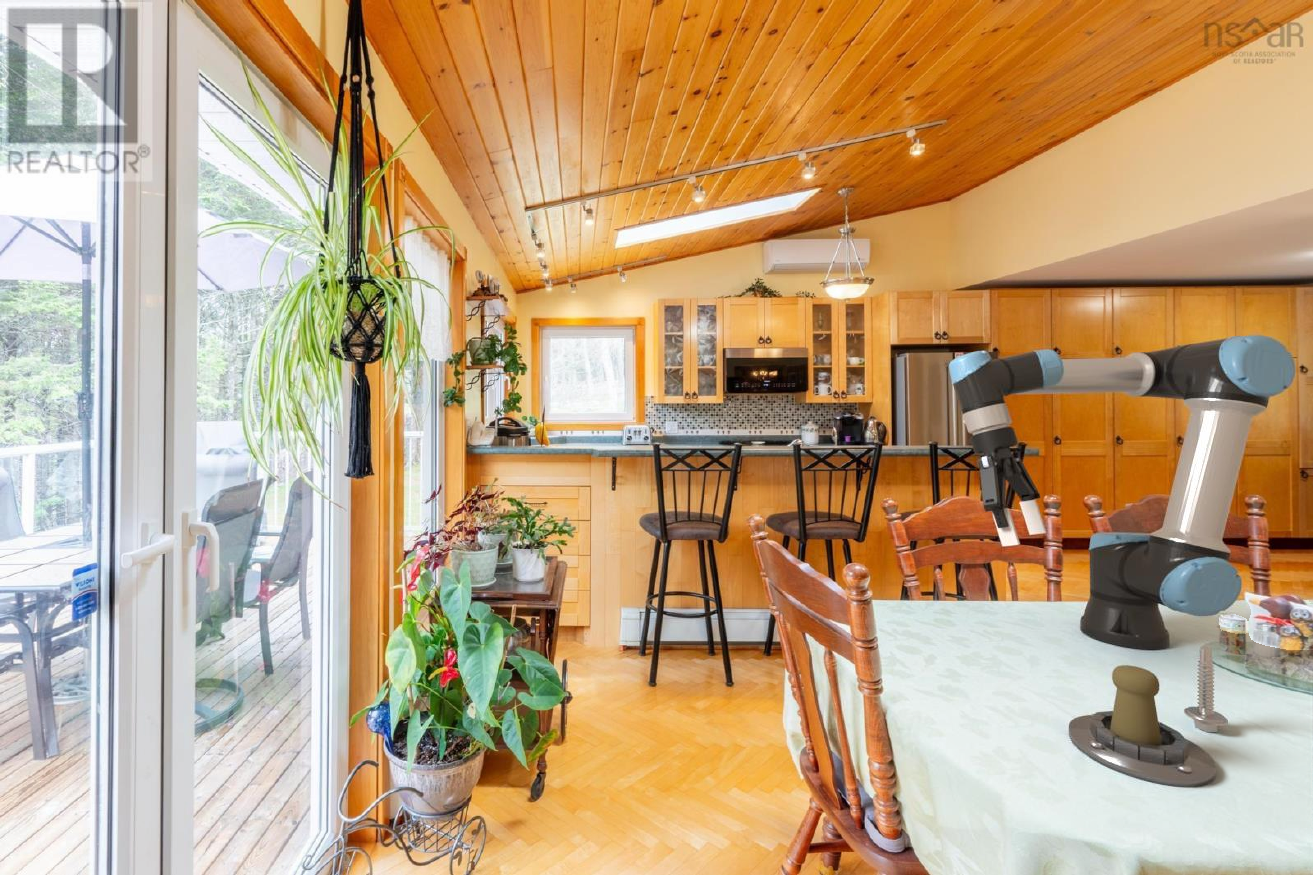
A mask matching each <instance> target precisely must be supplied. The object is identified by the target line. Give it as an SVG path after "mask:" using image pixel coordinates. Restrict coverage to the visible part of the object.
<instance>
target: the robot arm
mask: <svg viewBox="0 0 1313 875" xmlns="http://www.w3.org/2000/svg"><path fill="white" fill-rule="evenodd" d="M948 370H949V375H950V381H951V385H952V386H953V388H954V391H955V394H956V398H957V401H958V404H959V408H960V410H961V413H962V416H963V420H962V424H963V425H966V429H967V433H969V434H972V435H971V436H970V438H969V439H970V444H971V446H972V449H973V453H975V455H980V454H981V455H982V454H984V456H982V457H981V456H980V457H978V458H977V460H976V461H977V464H978V467H979V474H980V475H979V476H980V485H981V486H980V487H981V493H982V494H981V496H982V505H983V506H982V507H983V509H984V511H985V512H991V514H992V518H993V521H994V523H995V527H996V531H997V535H998V537H999V540H1000V543H1001V547H1010V546H1012V547H1013V546H1018V545H1020V544H1021V542H1020V539H1019V537H1018V533H1017V530H1016V528H1015V524H1014V520H1013V517H1012V514H1011V510H1010V508H1009V507H1008V508H1007V507H1006V504H1007V501H1006V500H1007V498H1006V497H1007V495H1006V494H1007V493H1006V492H1007V482H1008V484H1009V486H1010V487H1011V489H1012V490H1013V491H1014V493H1015V494H1016V495H1017V497H1018V498H1019V499H1020V501H1019V505H1020V509H1021V512H1022V515H1023V517H1024V520H1025V524H1026V527H1027V531H1028V534H1029V536H1031V535H1040V534H1046V533H1047V529H1046V526H1045V524H1044V520H1043V517H1042V514H1041V511H1040V508H1039V505H1038V502H1037V500H1038V499H1041V494H1040V492H1039V490H1038V488H1037V486H1036V485H1035V483H1034V481H1033V480H1032V478H1031V475H1030V474H1029V472H1028V470H1027V468H1026V467H1025V464H1024V463H1023V461H1022V459H1021V455H1020V452H1019V451H1018V450H1016V451H1011V449H1010V448H1012V447H1016V446H1018V444H1019V441H1018V438H1017V435H1016V432H1015V429H1014V427H1013V426H1010V425H1011V424H1012V419H1011V415H1010V412H1009V409H1008V406H1007V405H1006V401H1005V398H1004V397H1008V396H1011V395H1047V394H1049V395H1051V394H1052V395H1053V394H1054V395H1055V394H1056V395H1057V394H1058V395H1059V394H1096V393H1097V394H1098V393H1099V394H1101V393H1104V394H1105V393H1123V394H1125V395H1126V396H1128V397H1133V398H1135V397H1136V398H1137V397H1141V398H1142V397H1143V398H1144V397H1145V398H1146V397H1149V398H1161V399H1172V400H1173V399H1175V400H1182V403H1183V404H1184V406H1185V407H1186V408H1187V409H1188V410H1189V412H1190V414H1189V418H1188V422H1187V425H1186V426H1187V427H1186V430H1185V433H1184V439H1183V443H1182V446H1181V450H1180V455H1179V459H1178V463H1177V468H1176V470H1175V475H1174V479H1173V483H1172V487H1171V492H1170V494H1169V499H1168V503H1167V508H1166V512H1165V514H1164V520H1163V524H1162V527H1161V528H1159V529H1158V530H1155V531H1153V532H1151V533H1146V532H1117V531H1116V532H1115V531H1114V532H1109V531H1108V532H1105V531H1104V532H1096V533H1093V535H1091V536H1090V542H1089V548H1088V552H1089V598H1088V601H1087V604H1086V606H1085V608H1084V613H1083V615H1081V617H1080V620H1079V622H1080V625H1079V627H1080V628H1079V629H1080V631H1081V632H1082V633H1083V634H1084V635H1086V636H1088V637H1089V638H1092V639H1094V640H1098V641H1099V642H1103V643H1107V644H1110V645H1115V646H1119V647H1125V648H1131V649H1140V650H1162V649H1166V648H1168V647H1169V646H1170V633H1169V631H1168V629H1167V628H1166V626H1165V622H1164V619H1163V616H1162V613H1161V610H1160V607H1159V605H1161V606H1164V607H1167V608H1168V609H1170V610H1171V611H1174V612H1178V613H1181V614H1182V613H1184V614H1187V615H1191V616H1194V617H1195V616H1196V617H1209V616H1210V617H1212V616H1216V615H1218V614H1219V613H1221V612H1223V611H1226V610H1228V609H1229V608H1231V606H1233V605H1234V603H1235V602H1236V601H1237V600H1238V598H1239V596H1240V593H1241V591H1242V583H1243V582H1242V577H1241V575H1239V574H1238V573H1239V571H1238V569H1237V568H1236V566H1234V565H1233V564H1231V563H1230V561H1229V560H1230V557H1231V553H1232V552H1231V549H1229V547H1228V546H1227V545H1226V544H1225V542H1224V541H1223V537H1224V534H1225V529H1226V525H1227V522H1228V517H1229V513H1230V510H1231V505H1232V502H1233V497H1234V494H1235V489H1236V486H1237V481H1238V478H1239V473H1240V470H1241V469H1240V468H1241V465H1242V462H1243V458H1244V453H1245V449H1246V445H1247V441H1248V438H1249V434H1250V429H1251V426H1252V421H1253V419H1254V418H1255V417H1257V416H1259V415H1261V414H1262V413H1265V412H1266V411H1267V409H1268V406H1269V401H1270V398H1271V397H1274V396H1276V395H1280V394H1282V393H1283V392H1284V391H1285V390H1287V389H1289V387H1291V385H1292V384H1293V383H1294V379H1295V378H1296V363H1295V360H1294V357H1293V355H1292V353H1291V352H1290V351H1288V349H1287V348H1286V346H1285V345H1284V344H1283V343H1282V342H1280V341H1279V340H1277V339H1275V338H1273V337H1271V336H1267V335H1261V334H1251V335H1235V336H1231V337H1227V338H1222V339H1216V340H1208V341H1202V342H1196V343H1189V344H1184V345H1180V346H1175V347H1170V348H1165V349H1160V350H1159V349H1158V350H1153V351H1147V352H1146V351H1144V352H1143V351H1142V352H1132V353H1130V354H1128V355H1127V356H1125V357H1098V358H1095V357H1094V358H1091V357H1090V358H1067V359H1066V358H1061V356H1060V355H1059V354H1058V353H1057V352H1056V351H1055V350H1052V349H1050V348H1049V349H1047V348H1046V349H1039V350H1036V349H1035V350H1032V351H1028V352H1023V353H1019V354H1015V355H1011V356H1010V355H1009V356H1005V357H1001V358H996V359H992V357H991V355H990V352H988V351H987V350H977V351H973V352H968V353H965V354H963V355H960V356H957V357H955V358H954V359H952V360H951V361H950V362H949V364H948Z"/></svg>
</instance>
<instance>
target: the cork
mask: <svg viewBox="0 0 1313 875" xmlns="http://www.w3.org/2000/svg"><path fill="white" fill-rule="evenodd" d="M1111 678H1112V683H1113V685H1114V686H1115V688H1116V691H1115V699H1114V702H1113V704H1114V705H1113V709H1112V711H1113V715H1112V720H1111V726H1110V731H1112V732H1114V733H1115V734H1117V735H1119V736H1121V737H1124V738H1127V739H1130V740H1133V741H1136V742H1139V743H1144V744H1150V745H1156V746H1162V741H1161V735H1160V729H1159V723H1158V722H1159V718H1158V712H1157V707H1156V706H1157V705H1156V700H1155V696H1157V695H1158V694H1159V691H1160V681H1159V679H1158V677H1157V676H1156V674H1155V673H1153V672H1152V671H1150V670H1148V669H1146V668H1143V667H1139V666H1136V665H1135V666H1134V665H1128V664H1122V665H1117V666H1116V667H1115V668H1113V670H1112V673H1111Z"/></svg>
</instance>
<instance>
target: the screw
mask: <svg viewBox="0 0 1313 875" xmlns="http://www.w3.org/2000/svg"><path fill="white" fill-rule="evenodd" d="M1212 651H1213V650H1212V648H1210V647H1209V646H1208V645H1203V646H1201V647H1200V649H1199V660H1198V661H1197V662H1198V663H1199V664H1197V667H1198V668H1197V670H1198V672H1197V674H1198V675H1197V678H1198V679H1197V682H1198V683H1197V685H1198V687H1197V689H1198V690H1197V693H1198V694H1197V697H1198V698H1197V700H1198V702H1196V703H1197V704H1198V705H1197V706H1188V707H1185V708H1184V709H1183V713H1184V714H1185V715H1186V716H1187V717H1188V718H1190V719H1192V720H1193V724H1194V723H1195V724H1194V727H1195V729H1197V728H1199V729H1198V730H1200V729H1202V730H1204V731H1203V732H1205V733H1209V732H1217V733H1218V727H1219V726H1222V727H1223V726H1227V725H1228V724H1229V720H1228V718H1226V717H1225V716H1224V715H1223V714H1222V713H1220V712H1218V711H1216V710H1215V707H1214V706H1215V704H1214V702H1215V700H1214V699H1215V696H1214V695H1215V692H1214V691H1215V688H1214V687H1215V681H1214V680H1215V673H1214V672H1215V669H1214V668H1215V666H1214V661H1213V658H1212V656H1213V655H1212V654H1213V653H1212ZM1202 730H1201V731H1202Z"/></svg>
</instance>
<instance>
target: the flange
mask: <svg viewBox="0 0 1313 875" xmlns="http://www.w3.org/2000/svg"><path fill="white" fill-rule="evenodd" d="M1112 715H1113V710H1109V711H1108V710H1107V711H1096V712H1095V713H1092V714H1086V715H1081V716H1077V717H1075V718H1073V719H1072V720H1070V722H1069V723H1068V737H1070V738H1069V740H1070V739H1071V740H1070V741H1072V742H1071V743H1072V745H1073V746H1074V747H1075V746H1076V747H1077V748H1076V747H1075V748H1076V749H1078V750H1079V751H1080V752H1081V751H1082V752H1083V753H1082V752H1081V753H1082V754H1084V753H1085V754H1086V755H1088V756H1089V757H1088V756H1087V757H1088V758H1090V759H1091V760H1093V761H1094V762H1096V761H1097V762H1096V763H1099V764H1100V765H1102V766H1104V767H1106V768H1109V769H1111V770H1113V771H1116V772H1118V773H1120V774H1123V775H1126V776H1128V777H1131V778H1133V779H1134V778H1135V779H1137V780H1142V781H1146V782H1149V783H1154V784H1158V785H1163V786H1170V787H1178V788H1198V787H1203V786H1206V785H1209V784H1211V783H1212V782H1213V781H1214V780H1215V779H1216V762H1215V761H1214V759H1213V757H1212V756H1211V755H1210V754H1209V753H1208V752H1207V751H1206V750H1204V749H1203V748H1202V747H1200V746H1199V745H1197V744H1196V743H1194V742H1192V741H1191V740H1189V739H1187V738H1185V736H1184V735H1183V734H1182V733H1181V732H1179V731H1178V730H1176V729H1175V728H1173V727H1170V726H1168V725H1166V724H1165V723H1163V722H1161V721H1158V723H1159V729H1160V735H1161V741H1162V746H1156V745H1150V744H1144V743H1139V742H1136V741H1133V740H1130V739H1127V738H1124V737H1121V736H1119V735H1117V734H1115V733H1114V732H1112V731H1110V726H1111V720H1112ZM1085 754H1084V755H1085ZM1086 755H1085V756H1086Z"/></svg>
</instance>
